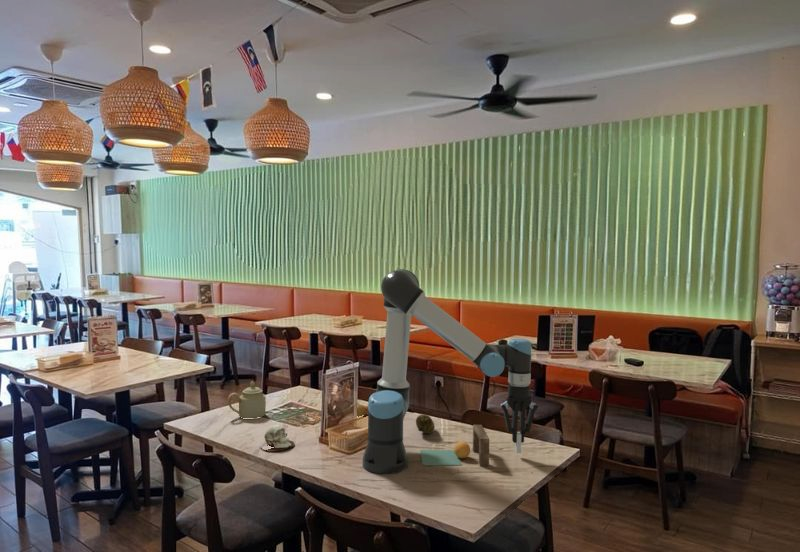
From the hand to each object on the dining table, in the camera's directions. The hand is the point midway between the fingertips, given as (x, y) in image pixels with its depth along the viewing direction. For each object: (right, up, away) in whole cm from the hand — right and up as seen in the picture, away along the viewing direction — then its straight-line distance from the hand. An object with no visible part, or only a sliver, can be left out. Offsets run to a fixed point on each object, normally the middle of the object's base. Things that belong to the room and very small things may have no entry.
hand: (517, 451), depth 182 cm
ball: (-19, +1, -1) cm, 19 cm away
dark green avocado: (-31, -1, +24) cm, 39 cm away
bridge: (-13, -2, 0) cm, 13 cm away
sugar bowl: (-105, +1, +42) cm, 113 cm away
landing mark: (-27, -2, -1) cm, 27 cm away
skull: (-85, -1, +8) cm, 86 cm away
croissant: (-62, 0, +42) cm, 75 cm away
